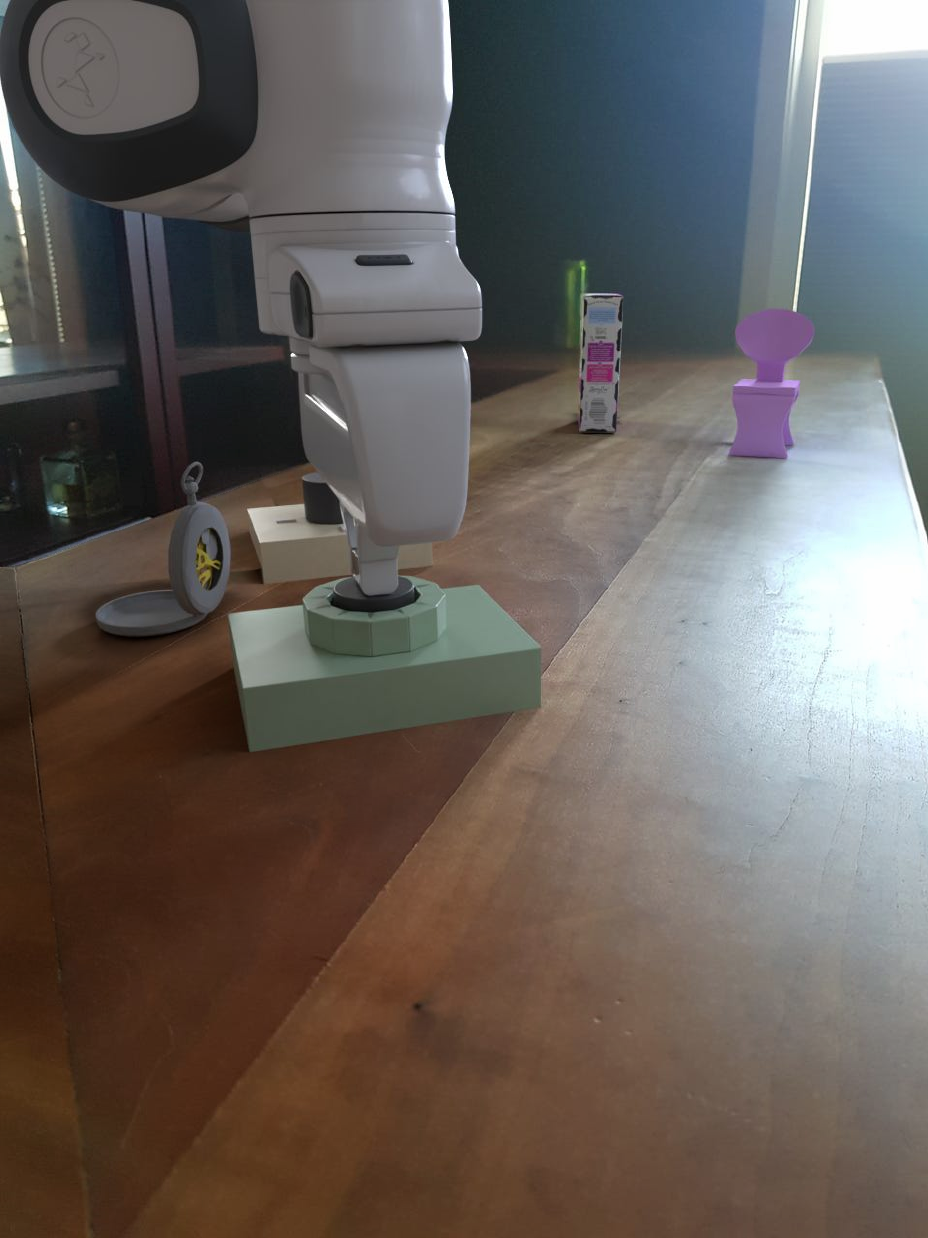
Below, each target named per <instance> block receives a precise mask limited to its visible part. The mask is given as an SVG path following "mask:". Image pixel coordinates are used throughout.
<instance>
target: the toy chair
mask: <svg viewBox="0 0 928 1238" xmlns="http://www.w3.org/2000/svg"><path fill="white" fill-rule="evenodd" d="M735 326H736V327H735V329H734V337H735V341H736V344H737V345H738V347H739V348H740V349H741V350H742V352H743V355H744V356H747V357H748V358H749V359H751V360H753V361H754V362H755V363H756V367H757V368H756V376H755V379H754V378H741V379H739V381H738V382H737V383H735V384H734V385H732V387H733V388H732V396H731V402H732V406H733V409H734V412H735V416H736V422H737V423H736V425H737V427H736V428H737V429H736V433H735V437H734V441H733V442H732V445H731V447H730V449H729V451H728V453H727V456H728V455H729V456H738V457H739V456H740V457H756V458H776V459H778V458H779V459H788V458H789V455H788V452H787V449H786V446H794V445H795V440H794V439H793V435H792V432H791V427H790V414H791V412H792V408H793V407H794V405H795V403H796V401H797V400H798V397H799V396H800V389H801V380H799V379H797V380H795V379H793V380H791V379H788V380H787V379H785V373H786V363H789V361H791V360H792V359H794V358H797V357H799V356H800V354H801V353H802V352H804V350H806V349H807V348H808V347H810V345H811V343H812V341H813V340H814V336H815V332H816V331H815V325H814V324H813V322H812V321H811V320H810V319H809V318H808V317H806V316H805V315H803V314H801V313H799V312H797V311H795V310H791V309H788V308H767V309H766V308H765V309H762V310H758V311H756V312H754V313H752V314H749V315H748V316H746V317H744V318H743V319H742V320H740V321H739V322H738V323H737V325H735Z"/></svg>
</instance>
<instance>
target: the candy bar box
mask: <svg viewBox="0 0 928 1238" xmlns="http://www.w3.org/2000/svg"><path fill="white" fill-rule="evenodd" d="M581 300H582V301H581V319H580V320H581V323H580V345H579V347H580V348H579V370H578V371H579V373H578V375H579V376H578V407H577V409H578V411H577V420H578V421H577V423H578V432H579V433H583V434H584V433H585V434H586V433H587V434H590V433H591V434H593V433H594V434H614V433H616V432H617V426H618V425H617V424H618V411H619V410H618V409H619V407H618V406H619V390H620V373H621V372H620V371H621V354H622V353H621V351H622V334H623V333H622V332H623V314H624V313H623V311H624V296H623V295H621V294H620V293H603V292H602V293H599V292H598V293H583V294H582V299H581Z"/></svg>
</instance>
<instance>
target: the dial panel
mask: <svg viewBox="0 0 928 1238" xmlns="http://www.w3.org/2000/svg"><path fill="white" fill-rule="evenodd" d="M246 512H247V521H248V523H247V524H248V531H249V535H250V538H251V541H252V544H253V546H254V549H255V552H256V556H257V558H258V561H259V564H260V567H261V568H258V572H259V574H260V577H261V581H262V584H263V585H268V584H269V585H270V584H278V583H286V582H288V583H289V582H296V581H297V582H298V581H305V580H314V579H324V578H333V577H343V576H351V575H352V573H351V568H350V554H349V544H348V540H347V536H346V532H345V527H344V523H339V524H320V523H314V522H310V521H308V520H306V518H305V509H304V503H299V504H287V505H277V506H265V507H254V508H247V509H246ZM397 566H398V571H399V570H407V569H417V568H424V567H426V568H427V567H433V542H432V543H424V544H415V545H403V546H400V549H399V554H398V558H397ZM352 576H353V575H352Z"/></svg>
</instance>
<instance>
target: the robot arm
mask: <svg viewBox="0 0 928 1238" xmlns="http://www.w3.org/2000/svg"><path fill="white" fill-rule="evenodd" d="M449 9H450V8H449V0H9V2H8V4H7V7H6V10H5V12H4V16H3V20H2V24H1V29H0V87H1V91H2V97H3V100H4V103H5V107H6V110H7V113H8V116H9V119H10V121H11V124H12V126H13V129H14V131H15V132H16V134H17V136H18V138H19V140H20V143H22V145H23V147H24V149H25V151H26V152H27V153H28V155H29V156H30V157H31V158H32V160H33V161H34V162H35V164H36V165H37V166H38V167H39V168H40V169H41V170H42V171H43V172H44V174H46V175H47V177H49V178H50V179H51V180H52V181H54V182H55V183H56V184H57V185H59V186H60V187H62V188H64V189H65V190H66V191H69V192H70V193H73V194H75V195H77V196H80V197H82V198H84V199H87V200H90V201H92V202H95V203H97V204H100V205H103V206H105V207H107V208H111V209H116V210H119V211H125V212H132V213H139V214H148V215H151V216H152V215H153V216H156V217H161V218H170V219H180V220H192V221H195V222H198V223H201V224H204V225H208V226H212V227H215V228H218V229H220V230H224V231H229V232H233V233H250V241H251V252H252V262H253V274H254V285H255V286H254V287H255V296H256V306H257V307H256V308H257V318H258V328H259V331H260V333H263V334H266V335H272V336H273V335H274V336H275V335H276V336H284V337H288V340H289V351H290V352H291V354H290V367H291V369H292V370H293V371H294V372H296V373H297V374H298V395H299V397H298V398H299V411H300V412H299V413H300V430H301V439H302V440H301V441H302V445H303V451H304V455H305V457H306V459H307V461H308V462H309V463H310V464H311V466H312V467H313V468H314V470H315V472H318V473H319V474H320V476H321V477H322V478H323V479H324V481H325V482H326V483H327V485H328V486H329V487H330V488H331V490H332V491H333V492H334V494H335V495H336V496H337V497H338V499H339V500H340V509H341V514H342V518H343V523H344V527H345V532H346V536H347V540H348V544H349V554H350V568H351V573H352V577H354V578H355V579H356V581H357V582H358V584H359V585H360V587H361V590H362V591H363V592H364V594H366V595H369V596H374V595H383V594H391V593H393V592H394V591H395V590H396V589H397V587H398V575H399V570H398V566H397V558H398V554H399V549H400V546H403V545H415V544H424V543H432V544H433V543H439V542H445V541H451V540H453V539H454V538H456V537H457V535H458V532H459V530H460V527H461V525H462V521H463V519H464V515H465V511H466V507H467V499H468V487H469V465H470V445H471V443H470V442H471V440H470V439H471V411H472V410H471V409H472V408H471V405H472V401H471V400H472V388H471V387H472V386H471V385H472V384H471V383H472V382H471V370H470V363H469V357H468V354H467V351H466V349H465V347H464V346H463V345H462V343H460V342H471V341H476V340H478V339H479V338H480V336H481V335H482V330H483V329H482V328H483V298H482V297H483V296H482V291H481V290H482V289H481V287H480V284H479V283H478V281H477V279H476V278H475V277H474V276H473V275H472V273H470V271H469V270H468V269H467V268H466V266H465V264H464V262H463V261H462V259H461V258H460V255H459V249H458V246H457V236H456V234H457V231H456V216H455V215H456V206H455V201H454V196H453V193H452V188H451V186H450V183H449V179H448V174H447V168H446V160H445V157H446V156H445V154H446V153H445V146H446V145H445V144H446V135H447V130H448V125H449V121H450V117H451V113H452V107H453V67H452V66H453V65H452V63H453V62H452V44H451V43H452V42H451V25H450V23H451V22H450V10H449Z"/></svg>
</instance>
